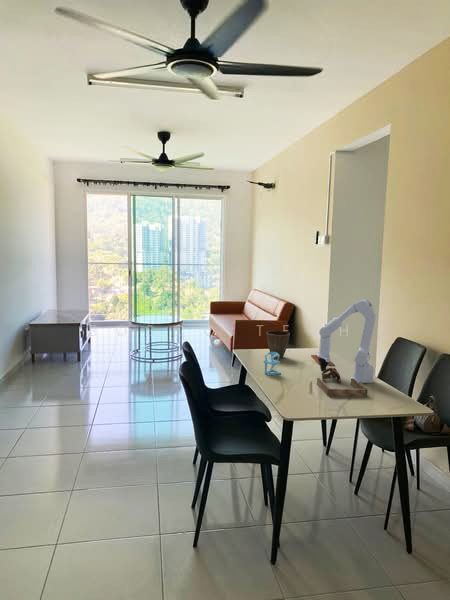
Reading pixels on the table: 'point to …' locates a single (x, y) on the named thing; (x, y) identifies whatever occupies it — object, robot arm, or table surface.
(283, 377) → the table surface
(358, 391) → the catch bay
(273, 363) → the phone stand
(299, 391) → the table surface
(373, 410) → the table surface
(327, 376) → the pottery mug
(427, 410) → the table surface
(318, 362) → the wooden tablet
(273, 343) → the plant pot
